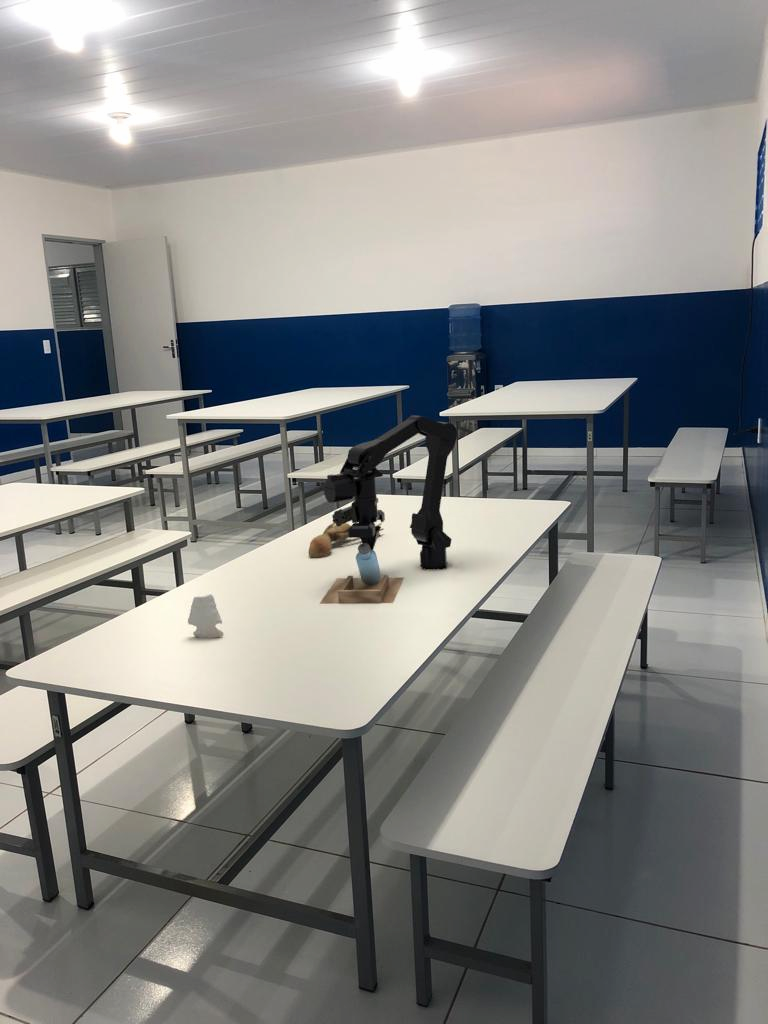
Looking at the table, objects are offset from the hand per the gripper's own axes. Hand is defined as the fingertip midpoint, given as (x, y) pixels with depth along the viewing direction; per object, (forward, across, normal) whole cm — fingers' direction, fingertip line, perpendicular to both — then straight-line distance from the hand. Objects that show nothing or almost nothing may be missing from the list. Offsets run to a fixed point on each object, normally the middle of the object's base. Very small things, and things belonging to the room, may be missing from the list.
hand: (369, 556), depth 215 cm
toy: (+8, -40, -18) cm, 45 cm away
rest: (+8, +6, -1) cm, 10 cm away
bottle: (+6, 0, 0) cm, 6 cm away
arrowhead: (+8, +36, -31) cm, 48 cm away
